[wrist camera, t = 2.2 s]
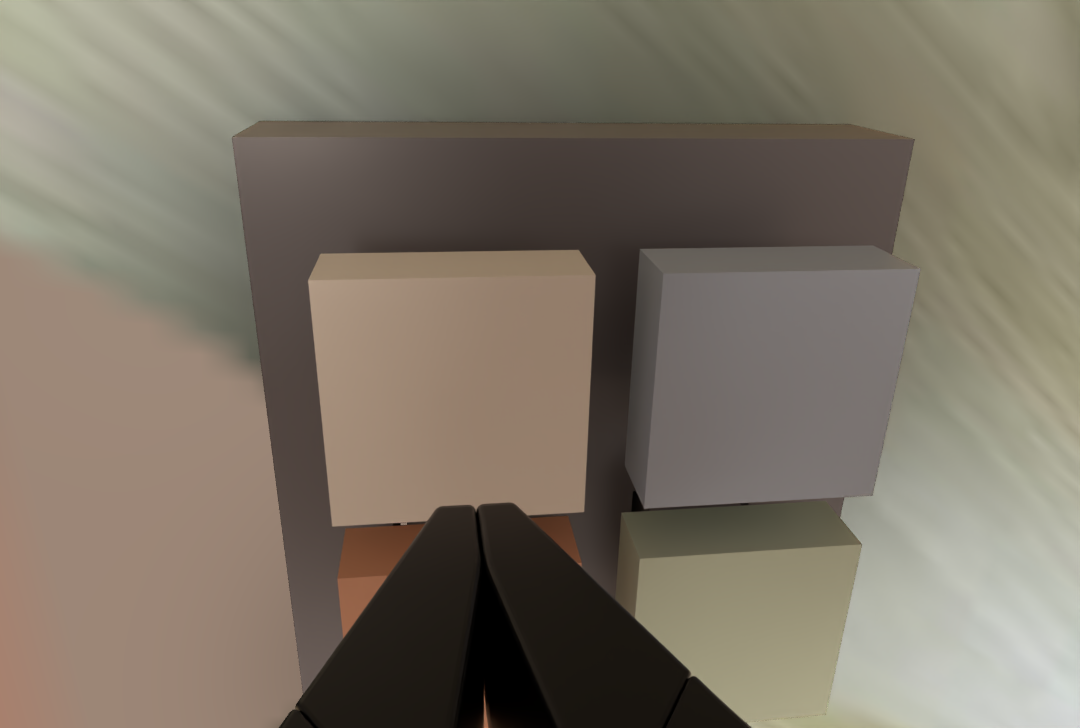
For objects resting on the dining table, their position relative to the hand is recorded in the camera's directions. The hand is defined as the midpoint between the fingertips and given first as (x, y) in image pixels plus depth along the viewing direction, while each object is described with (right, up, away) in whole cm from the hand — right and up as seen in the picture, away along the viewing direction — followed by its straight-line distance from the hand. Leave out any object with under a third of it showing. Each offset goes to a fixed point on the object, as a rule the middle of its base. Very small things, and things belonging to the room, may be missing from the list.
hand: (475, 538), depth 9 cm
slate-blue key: (+4, +3, +8) cm, 9 cm away
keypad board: (+1, +1, +10) cm, 10 cm away
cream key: (-1, +3, +7) cm, 8 cm away
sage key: (+4, -1, +10) cm, 11 cm away
